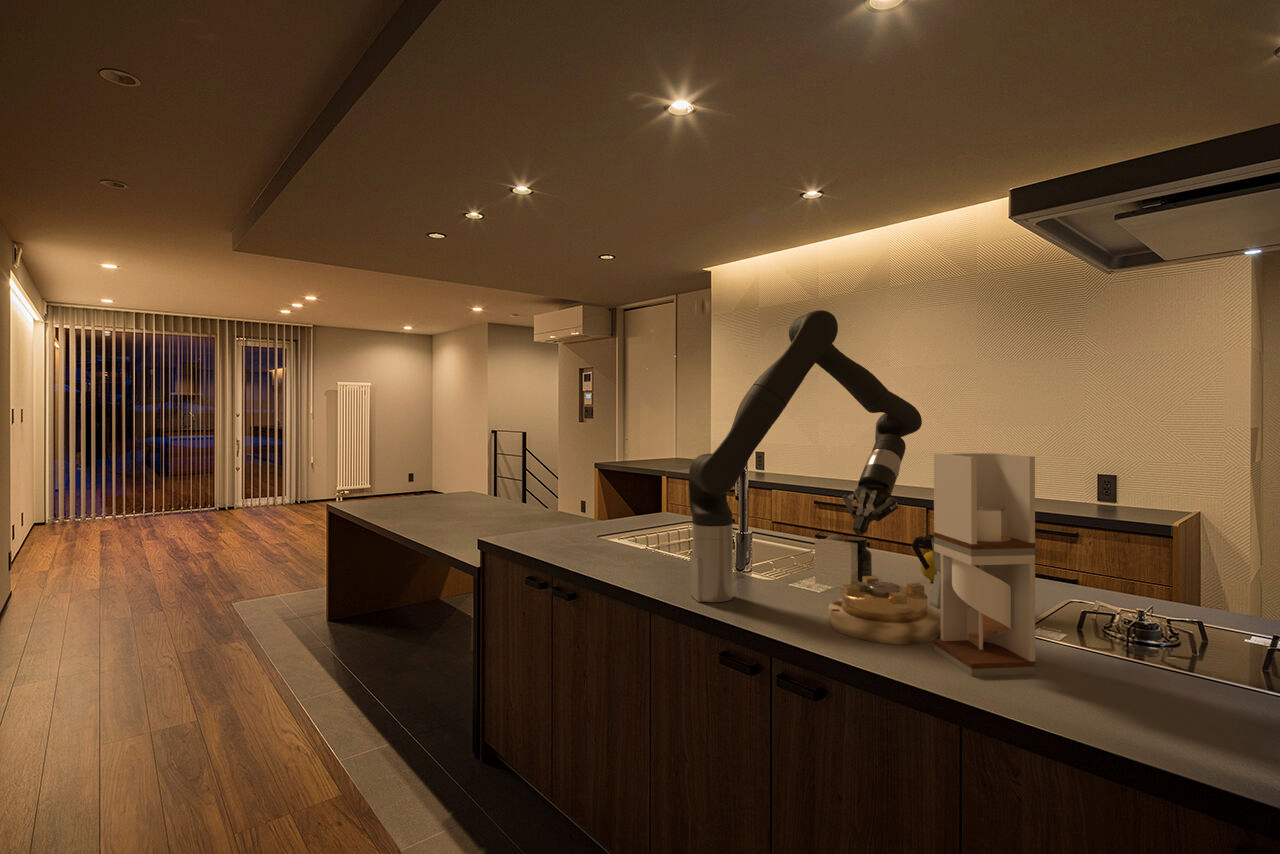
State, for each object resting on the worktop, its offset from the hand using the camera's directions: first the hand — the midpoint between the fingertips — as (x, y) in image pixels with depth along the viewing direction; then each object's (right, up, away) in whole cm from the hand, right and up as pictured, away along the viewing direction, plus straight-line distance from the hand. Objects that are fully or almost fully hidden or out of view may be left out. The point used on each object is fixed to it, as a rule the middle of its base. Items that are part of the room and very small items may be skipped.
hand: (858, 532), depth 144 cm
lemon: (+26, -16, +21) cm, 37 cm away
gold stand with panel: (-2, -13, -12) cm, 18 cm away
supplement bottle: (+5, -16, +16) cm, 23 cm away
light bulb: (+5, -16, +32) cm, 36 cm away
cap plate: (+1, -16, -14) cm, 21 cm away
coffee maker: (+20, -16, +1) cm, 26 cm away
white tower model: (+10, -17, -33) cm, 38 cm away
